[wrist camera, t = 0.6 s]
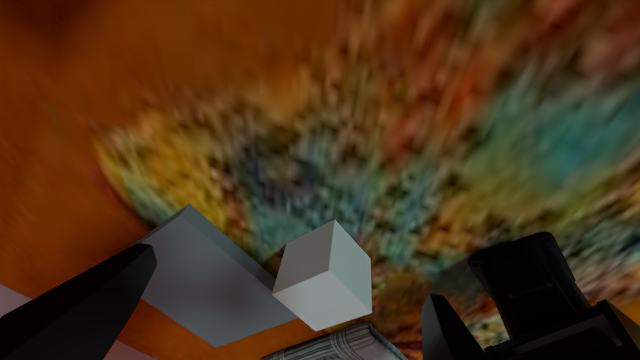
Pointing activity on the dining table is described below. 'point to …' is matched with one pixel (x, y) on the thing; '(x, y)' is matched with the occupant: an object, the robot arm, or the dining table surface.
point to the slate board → (210, 281)
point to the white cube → (325, 278)
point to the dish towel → (343, 346)
